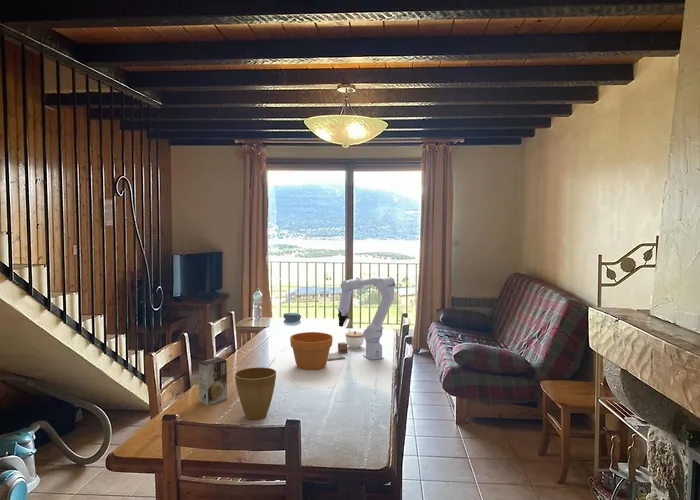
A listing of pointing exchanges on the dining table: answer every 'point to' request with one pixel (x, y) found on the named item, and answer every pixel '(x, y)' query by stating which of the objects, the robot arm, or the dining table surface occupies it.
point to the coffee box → (212, 380)
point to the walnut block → (342, 347)
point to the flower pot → (311, 349)
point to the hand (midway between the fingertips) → (340, 324)
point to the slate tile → (335, 356)
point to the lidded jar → (354, 339)
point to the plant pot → (255, 390)
